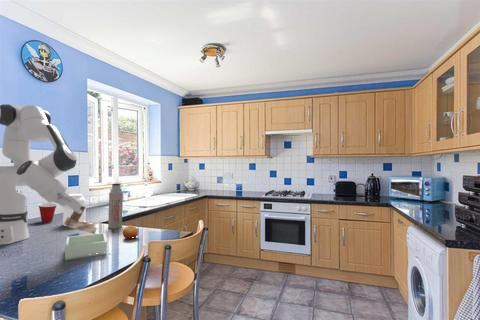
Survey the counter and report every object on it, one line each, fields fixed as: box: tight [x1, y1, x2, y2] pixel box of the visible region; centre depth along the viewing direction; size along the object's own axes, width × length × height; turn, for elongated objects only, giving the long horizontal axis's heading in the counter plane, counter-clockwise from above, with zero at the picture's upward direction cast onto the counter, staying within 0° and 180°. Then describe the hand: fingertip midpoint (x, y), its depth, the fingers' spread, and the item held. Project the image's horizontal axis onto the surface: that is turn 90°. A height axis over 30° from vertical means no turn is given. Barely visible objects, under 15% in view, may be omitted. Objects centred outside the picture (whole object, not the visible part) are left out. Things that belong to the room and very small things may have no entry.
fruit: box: [122, 224, 139, 241], centre depth 145 cm, size 8×8×8 cm
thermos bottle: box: [107, 183, 124, 229], centre depth 168 cm, size 8×8×28 cm
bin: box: [64, 232, 108, 261], centre depth 123 cm, size 16×16×6 cm
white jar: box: [62, 193, 87, 227], centre depth 172 cm, size 12×12×20 cm
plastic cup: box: [37, 202, 58, 223], centre depth 178 cm, size 11×11×12 cm
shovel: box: [64, 206, 98, 234], centre depth 122 cm, size 11×8×10 cm
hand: (79, 212), depth 120 cm, fingers closed on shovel, 3 cm apart
